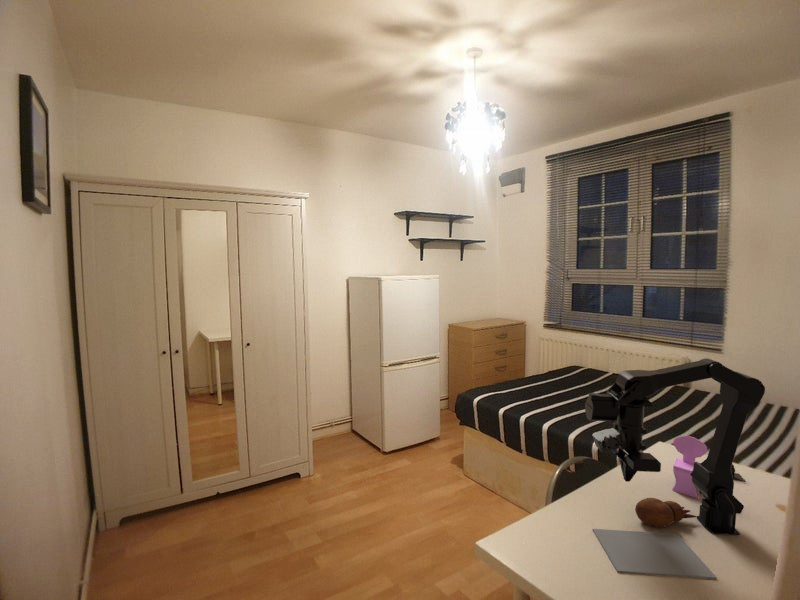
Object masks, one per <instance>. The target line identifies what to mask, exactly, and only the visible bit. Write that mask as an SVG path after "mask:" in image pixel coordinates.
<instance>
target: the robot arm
mask: <svg viewBox="0 0 800 600" xmlns="http://www.w3.org/2000/svg"><path fill="white" fill-rule="evenodd" d="M618 373H619V372H618ZM708 379H712V380H713V381H715V382H717V383H718V384H720V386H719V395H720V401H721V404H722V407H721V411H720V413H719V417H718V419H717V420H718V421H717V424H716V427H715V430H714V433H713V437H712V439H711V444H710V446H709V451H708V452H707V453H708V454H707V457H706V458H705V460H703V461H702V462H698V461H695V463H694V468H693V471H692V473H691V474H690V475H691V476H692V482H693V484H694V486H695V489H697V491H698V493H699V494H700V495H701V496H703V498H702V499H701V504H700V505H699V513H698V515H696V516H697V517H696V519H697V521H699V522H700V524H702V525H703V526H704V527H705V528H706V529H707V530H708V531H709V532H710V533H712V534H716V535H731V536H732V535H733V536H740V531H738V530H737V528H736V523H737V522H736V521H737V515H741V514H742V512H743V509H744V508H745V506H744V505H743V504H742V502H741V501H740V500H738V498H737V497H736V496H734V487H735V482H734V481H735V480H733V476H732V472H731V466H732V464H733V462H734V460H735V456H736V452H737V450H738V446H739V443H740V440H741V436H742V433H743V430H744V426H745V423H746V422H747V417H748V414H749V413H750V412H752V411H753V410H754V409H756V408H757V407H758V406H759V405H760V403H761V401H762V399H763V397H764V395H765V394H766V386H765V385H764V384H763V382H762V380H760V379H758V378H755V377H752V376H749V375H748V374H744V373H741V372H739V371H734V370H733V369H730V368H729V367H727V366H725V365H724V364H723V363H721V362H719V361H717V360H713V359H711V358H701V359H699V360H696V361H692V362H687V363H682V364H679V365H678V364H677V365H673V366H669V367H663V368H659V369H653V370H652V369H651V370H647V369H645V370H644V369H631V370H630V369H629V370H624V371H621V372H620V373H619V374H618V376H617V377H616V380H615V382H614V383H613V384H612V385H611V386H610V387H609V388H608V390H606V393H605V394H604V393H603V394H602V393H594V392H590V393H588V397H587V398H586V401H585V403H584V412H585V416H586V418H587V420H588V421H596V422H599V421H600V422H613V423H612V427H611V428H605V429H602V430H600V431H596V432H593V433H592V438H593V442H594V444H595V446H596V448H597V449H599V451H600V452H602V453H607V452H612V453H613V454H614V455H616V457H617V459H618V461H619V465H620V470H621V474H622V476H623V480H624V481H625V482H626V483H627V482H630V481H631V480H632V479H633V478H634V477H635V475H636V473H638V472H646V473H647V472H649V473H660V472H661V471H662V469H661V468H662V463H661V461H660V460H659V459H658V458H656V457H655V456H654V455H653V454H652V453H650V452H644V451H646V449H647V448H646V447H647V446H646V445H645V444H644V443H643V435H645V434H647V432H648V431H647V429H646V428H645V427H644V420H645V419H644V418H645V417H644V416H645V408H654V407H655V404H654V403H652V402H651V401H650V400H649V398H648V397H649V396H653V395H654V394H655V393H657V392H658V391H659V390H662V389H665V388H669V387H674V386H679V385H684V384H688V383H689V384H690V383H693V382H699V381H702V380H708ZM621 392H622V393H623V394H622V393H621ZM642 450H644V451H642Z"/></svg>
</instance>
